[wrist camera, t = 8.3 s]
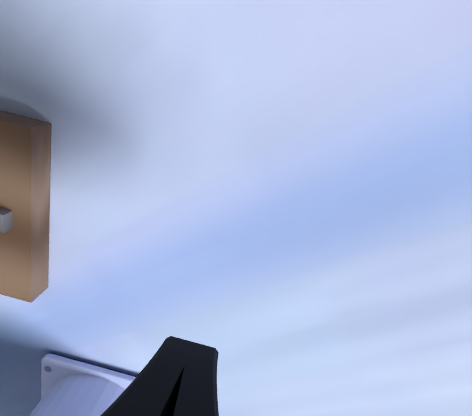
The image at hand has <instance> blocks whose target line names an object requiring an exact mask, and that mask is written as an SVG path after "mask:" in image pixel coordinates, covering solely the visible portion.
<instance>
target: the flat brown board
mask: <svg viewBox="0 0 472 416" xmlns="http://www.w3.org/2000/svg"><path fill="white" fill-rule="evenodd" d="M50 159H51V124H50V123H46V122H43V121H39V120H35V119H31V118H27V117H23V116H19V115H15V114H11V113H7V112H3V111H0V294H2V295H5V296H9V297H13V298H16V299H20V300H24V301H28V302H32V301H34V300H35V299H36V298H37V297H38V296H39V295H40V294H41V293H42V292H43V291H45V290H46V289H47V288H48V259H49V209H50Z"/></svg>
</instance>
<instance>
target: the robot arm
mask: <svg viewBox="0 0 472 416" xmlns="http://www.w3.org/2000/svg"><path fill="white" fill-rule="evenodd" d="M217 359H218V351H217V350H216V348H213V347H209V346H205V345H202V344H198V343H194V342H191V341H187V340H183V339H180V338H176V337H172V336H170V337H168V338H166V339H165V341H164V342H163V344H162V345H161V347H160V348H159V350H158V351H157V352H156V354H155V355H154V356H153V358H152V359H151V360H150V361H149V363H148V364H147V365H146V366H145V367H144V369H143V370H142V371H141V372H140V373H139V375H138V376H137V377H134V376H130V375H126V374H123V373H119V372H116V371H112V370H108V369H105V368H101V367H97V366H94V365H90V364H87V363H83V362H79V361H76V360H72V359H69V358H65V357H61V356H58V355H54V354H46V355H45V356H44V357H43V358H42V360H41V400H40V402H39V403H38V404H37V406H36V407H35V408H34V410H33V411H32V412H31V414H30V415H29V416H219V414H218V401H217Z"/></svg>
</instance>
